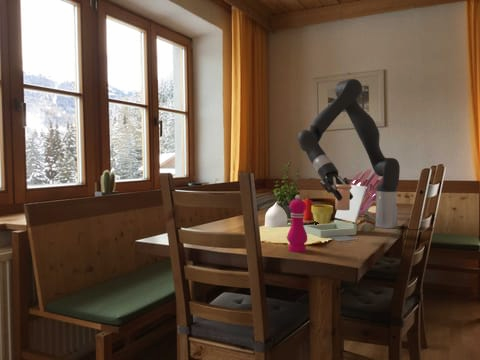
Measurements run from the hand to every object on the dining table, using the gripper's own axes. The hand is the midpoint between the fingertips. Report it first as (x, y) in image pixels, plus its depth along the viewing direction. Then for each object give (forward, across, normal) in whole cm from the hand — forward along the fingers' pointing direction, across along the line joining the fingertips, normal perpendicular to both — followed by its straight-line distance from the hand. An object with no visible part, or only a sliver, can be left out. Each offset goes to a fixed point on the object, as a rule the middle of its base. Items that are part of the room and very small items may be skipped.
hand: (346, 198), depth 169 cm
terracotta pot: (+2, 0, +4) cm, 5 cm away
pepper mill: (+13, -27, +11) cm, 32 cm away
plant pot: (-10, +18, +35) cm, 41 cm away
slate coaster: (+11, 0, +13) cm, 17 cm away
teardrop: (-18, -1, +43) cm, 47 cm away
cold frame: (+3, +7, +21) cm, 22 cm away
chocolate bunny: (+6, +24, +18) cm, 31 cm away
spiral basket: (-18, +64, +42) cm, 79 cm away
